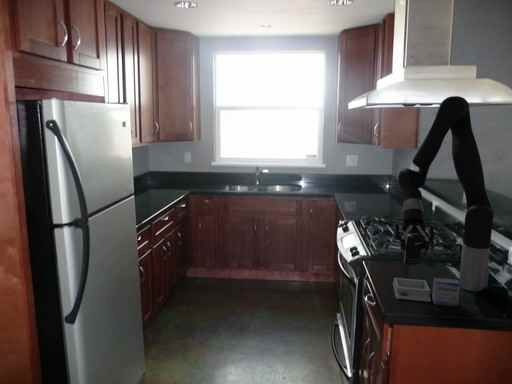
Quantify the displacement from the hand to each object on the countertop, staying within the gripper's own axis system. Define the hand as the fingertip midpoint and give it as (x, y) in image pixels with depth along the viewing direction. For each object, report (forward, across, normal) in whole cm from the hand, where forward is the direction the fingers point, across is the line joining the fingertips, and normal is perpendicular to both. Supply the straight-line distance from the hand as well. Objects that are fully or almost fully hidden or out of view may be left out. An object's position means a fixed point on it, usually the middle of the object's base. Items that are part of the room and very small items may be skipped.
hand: (414, 250), depth 151 cm
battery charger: (+3, 0, +5) cm, 6 cm away
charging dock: (+11, 0, +13) cm, 17 cm away
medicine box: (+16, +11, +9) cm, 21 cm away
